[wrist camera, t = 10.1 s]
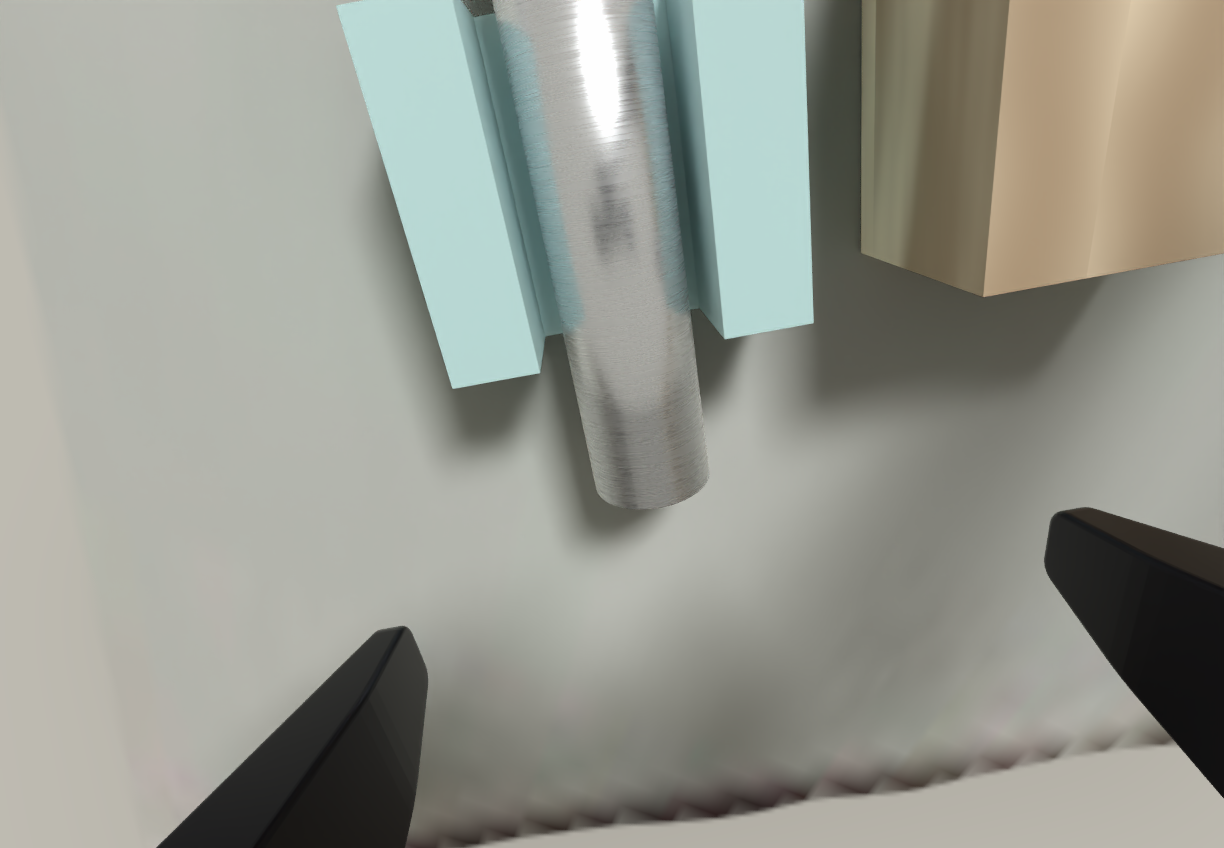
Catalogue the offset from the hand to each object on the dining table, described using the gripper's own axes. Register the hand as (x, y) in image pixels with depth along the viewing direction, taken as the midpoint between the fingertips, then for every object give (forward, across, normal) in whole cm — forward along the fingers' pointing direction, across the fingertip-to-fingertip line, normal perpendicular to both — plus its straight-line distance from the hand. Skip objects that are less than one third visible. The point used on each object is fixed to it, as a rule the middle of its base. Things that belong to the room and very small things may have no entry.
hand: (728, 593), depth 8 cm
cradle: (+12, +1, -5) cm, 13 cm away
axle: (+11, +1, -5) cm, 12 cm away
